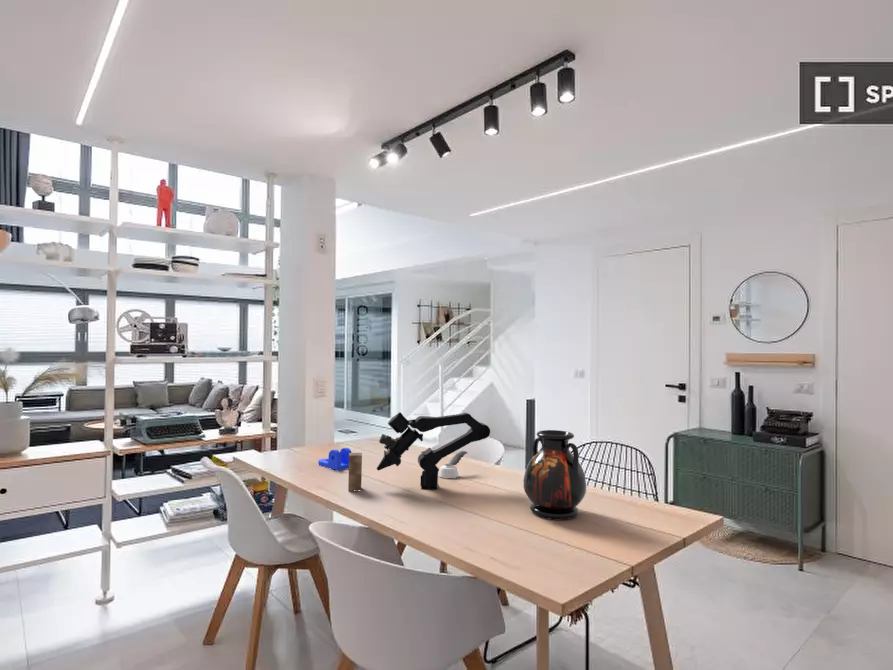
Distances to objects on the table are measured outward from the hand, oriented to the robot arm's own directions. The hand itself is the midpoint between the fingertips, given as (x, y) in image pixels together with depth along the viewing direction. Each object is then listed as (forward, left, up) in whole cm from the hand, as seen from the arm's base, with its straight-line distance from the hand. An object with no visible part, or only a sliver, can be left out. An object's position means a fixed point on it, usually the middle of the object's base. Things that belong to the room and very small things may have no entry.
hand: (377, 469), depth 208 cm
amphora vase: (-68, +20, -8) cm, 71 cm away
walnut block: (+8, +2, -8) cm, 12 cm away
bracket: (+29, -36, -8) cm, 47 cm away
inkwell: (-29, -29, -8) cm, 42 cm away
